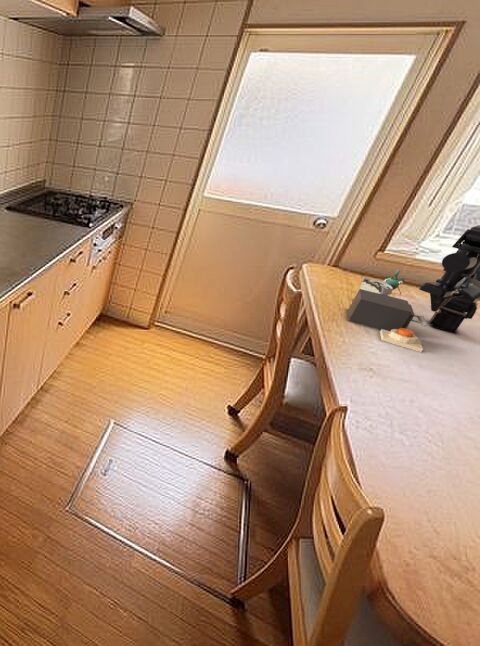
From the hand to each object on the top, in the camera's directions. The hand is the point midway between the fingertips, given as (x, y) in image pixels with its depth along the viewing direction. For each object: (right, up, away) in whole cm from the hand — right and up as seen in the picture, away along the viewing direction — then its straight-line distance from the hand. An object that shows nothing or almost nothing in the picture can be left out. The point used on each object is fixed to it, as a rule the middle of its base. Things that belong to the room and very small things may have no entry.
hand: (433, 311), depth 139 cm
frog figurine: (+16, +4, +34) cm, 38 cm away
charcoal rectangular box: (-6, -4, +15) cm, 17 cm away
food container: (+5, +1, +27) cm, 28 cm away
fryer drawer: (-3, -5, +13) cm, 14 cm away
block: (-8, -10, +3) cm, 14 cm away
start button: (-8, -8, +2) cm, 12 cm away
